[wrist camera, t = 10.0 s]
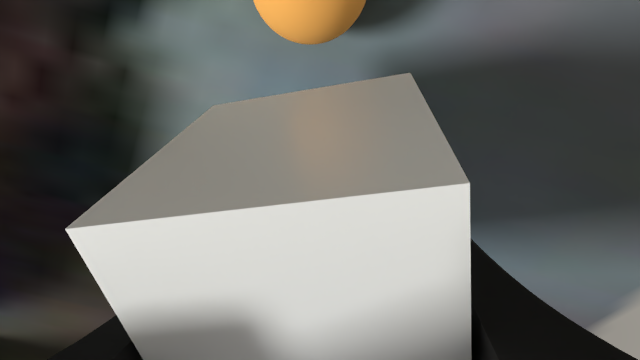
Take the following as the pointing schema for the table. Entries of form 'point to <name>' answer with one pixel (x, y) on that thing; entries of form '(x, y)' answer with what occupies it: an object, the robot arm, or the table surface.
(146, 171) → the cover
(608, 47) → the table surface
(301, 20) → the ball
